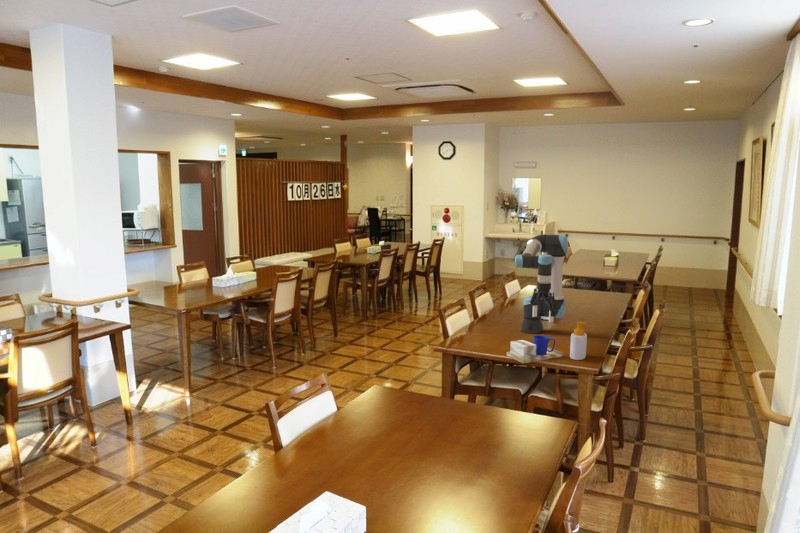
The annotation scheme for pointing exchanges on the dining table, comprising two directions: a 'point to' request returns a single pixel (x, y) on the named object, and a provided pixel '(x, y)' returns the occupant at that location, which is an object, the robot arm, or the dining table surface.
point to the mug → (542, 344)
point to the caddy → (529, 352)
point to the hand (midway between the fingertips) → (542, 319)
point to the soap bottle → (578, 343)
